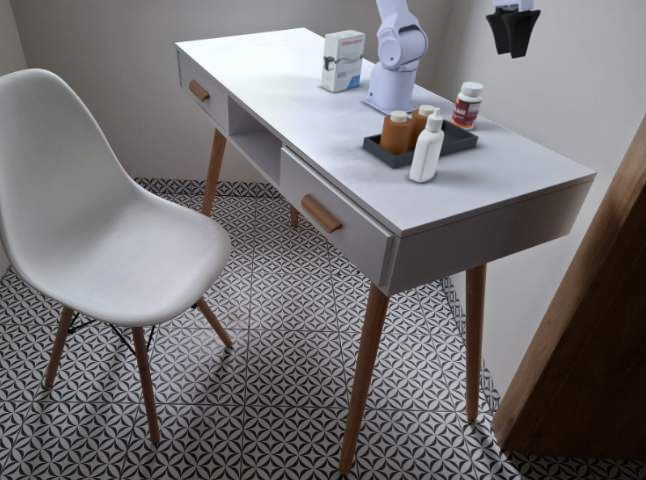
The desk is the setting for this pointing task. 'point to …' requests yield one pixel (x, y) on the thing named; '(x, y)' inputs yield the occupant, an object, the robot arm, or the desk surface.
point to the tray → (452, 143)
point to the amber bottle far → (396, 132)
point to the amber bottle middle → (419, 123)
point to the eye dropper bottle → (428, 149)
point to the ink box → (342, 60)
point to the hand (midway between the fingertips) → (510, 55)
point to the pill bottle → (467, 105)
